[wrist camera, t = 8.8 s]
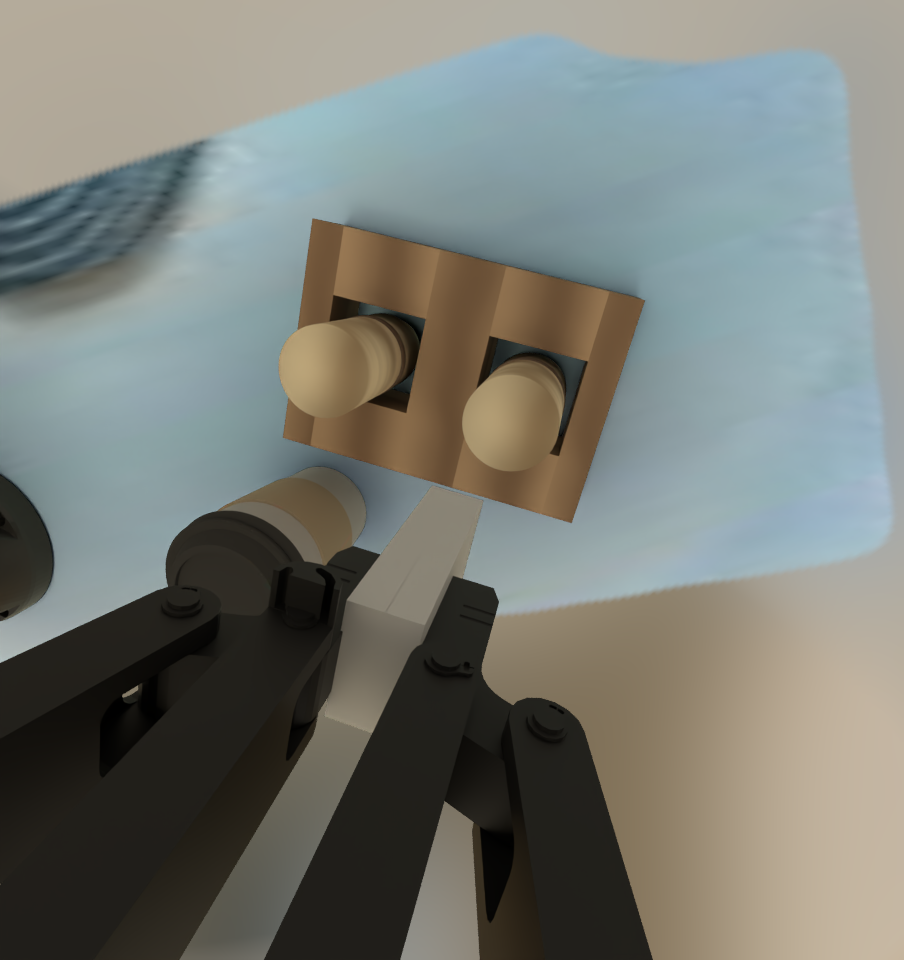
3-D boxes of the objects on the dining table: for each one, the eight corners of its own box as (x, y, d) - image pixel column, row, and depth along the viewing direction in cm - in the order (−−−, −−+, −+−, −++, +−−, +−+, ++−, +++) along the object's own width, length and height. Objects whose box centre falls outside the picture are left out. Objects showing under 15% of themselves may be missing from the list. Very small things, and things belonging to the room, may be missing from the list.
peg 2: (487, 409, 43) (451, 457, 31) (505, 339, 41) (474, 363, 30) (556, 428, 42) (544, 483, 31) (577, 358, 40) (573, 390, 29)
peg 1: (353, 372, 44) (272, 405, 33) (365, 303, 42) (284, 312, 31) (418, 390, 43) (358, 430, 32) (432, 320, 41) (375, 337, 30)
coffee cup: (313, 428, 46) (194, 494, 32) (403, 508, 47) (324, 606, 33) (251, 507, 50) (120, 598, 36) (335, 581, 50) (238, 698, 36)
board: (313, 421, 46) (283, 437, 41) (343, 224, 41) (312, 218, 37) (573, 496, 44) (571, 523, 39) (638, 297, 39) (644, 300, 34)
